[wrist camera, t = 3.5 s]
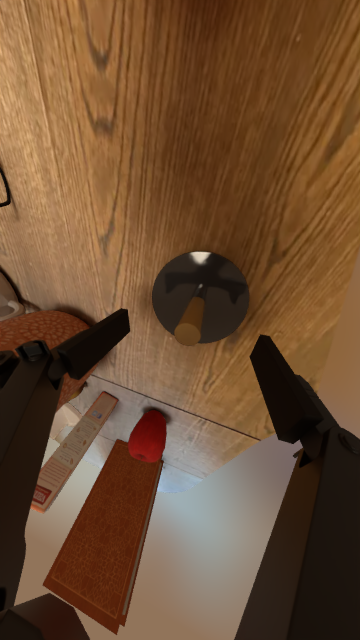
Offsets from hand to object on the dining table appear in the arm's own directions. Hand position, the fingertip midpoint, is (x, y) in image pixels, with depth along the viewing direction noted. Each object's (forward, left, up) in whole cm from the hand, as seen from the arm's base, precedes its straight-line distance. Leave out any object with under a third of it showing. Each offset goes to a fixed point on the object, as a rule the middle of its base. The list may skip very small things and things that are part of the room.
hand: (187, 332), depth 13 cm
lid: (0, 0, -8) cm, 8 cm away
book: (-24, +72, -9) cm, 76 cm away
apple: (-13, +36, -9) cm, 39 cm away
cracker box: (+1, +48, -9) cm, 49 cm away
